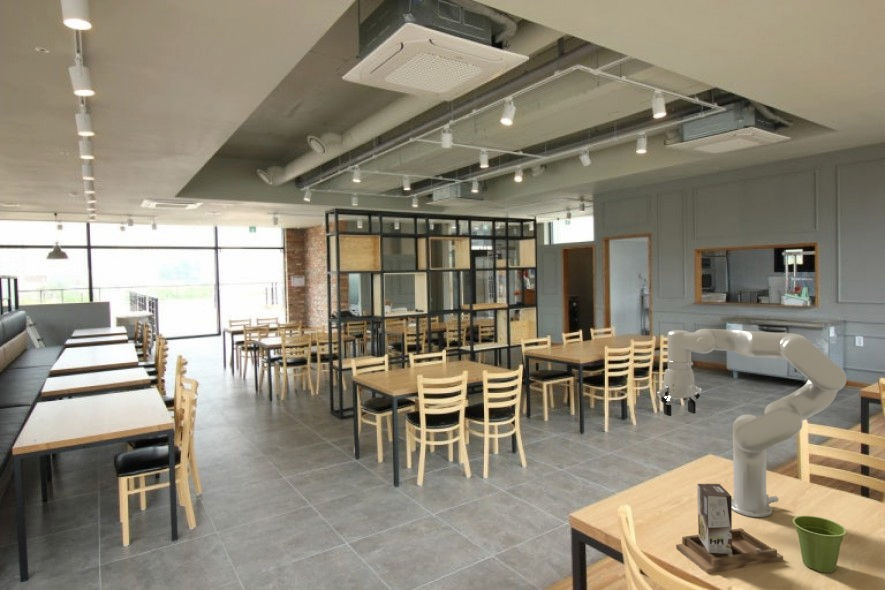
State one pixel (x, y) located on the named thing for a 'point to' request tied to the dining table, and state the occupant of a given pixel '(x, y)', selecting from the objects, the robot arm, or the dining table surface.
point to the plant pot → (819, 541)
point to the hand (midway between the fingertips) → (679, 413)
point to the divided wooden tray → (742, 555)
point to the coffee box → (715, 518)
